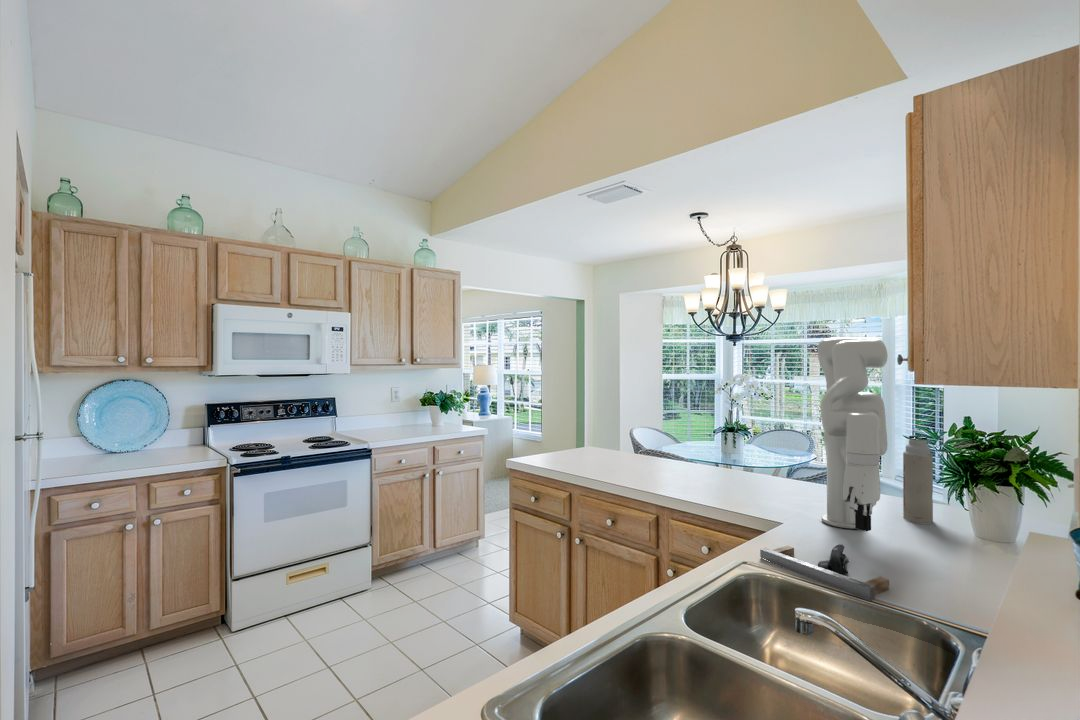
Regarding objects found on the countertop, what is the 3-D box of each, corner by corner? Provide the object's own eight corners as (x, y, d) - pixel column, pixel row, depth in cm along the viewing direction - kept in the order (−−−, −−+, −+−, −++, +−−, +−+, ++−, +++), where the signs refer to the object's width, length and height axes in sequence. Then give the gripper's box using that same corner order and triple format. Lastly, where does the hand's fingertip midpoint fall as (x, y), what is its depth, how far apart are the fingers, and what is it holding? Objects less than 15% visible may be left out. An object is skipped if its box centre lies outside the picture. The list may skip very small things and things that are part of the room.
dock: (784, 553, 146) (784, 542, 146) (893, 591, 122) (893, 578, 122) (760, 560, 141) (760, 549, 141) (869, 601, 117) (869, 588, 117)
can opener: (847, 582, 128) (847, 558, 128) (815, 575, 132) (814, 552, 132) (857, 560, 142) (857, 539, 142) (828, 554, 146) (828, 534, 146)
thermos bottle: (899, 520, 176) (899, 435, 176) (907, 515, 181) (907, 433, 181) (928, 525, 170) (928, 438, 170) (936, 521, 175) (935, 436, 175)
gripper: (863, 455, 147) (864, 522, 147) (832, 459, 140) (832, 530, 139) (892, 459, 141) (893, 529, 140) (861, 464, 133) (861, 537, 133)
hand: (863, 529), depth 140 cm, fingers closed
